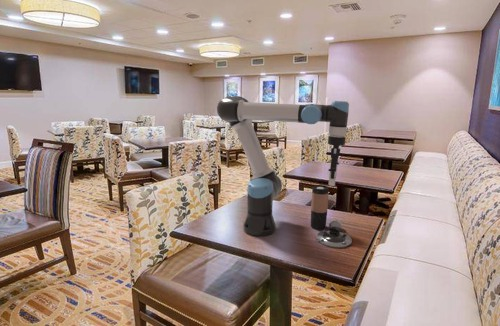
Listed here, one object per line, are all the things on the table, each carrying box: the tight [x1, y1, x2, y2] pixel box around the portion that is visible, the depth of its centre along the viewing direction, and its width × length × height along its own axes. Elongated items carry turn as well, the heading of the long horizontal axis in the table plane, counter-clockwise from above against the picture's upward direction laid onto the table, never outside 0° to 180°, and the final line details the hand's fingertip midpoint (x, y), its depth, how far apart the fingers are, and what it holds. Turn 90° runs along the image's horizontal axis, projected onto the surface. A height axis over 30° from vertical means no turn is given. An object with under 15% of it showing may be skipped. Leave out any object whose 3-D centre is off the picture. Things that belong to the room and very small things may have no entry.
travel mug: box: [310, 184, 330, 231], centre depth 151 cm, size 8×8×20 cm
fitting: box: [316, 218, 353, 249], centre depth 142 cm, size 15×22×6 cm
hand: (332, 181), depth 147 cm, fingers open, 13 cm apart
